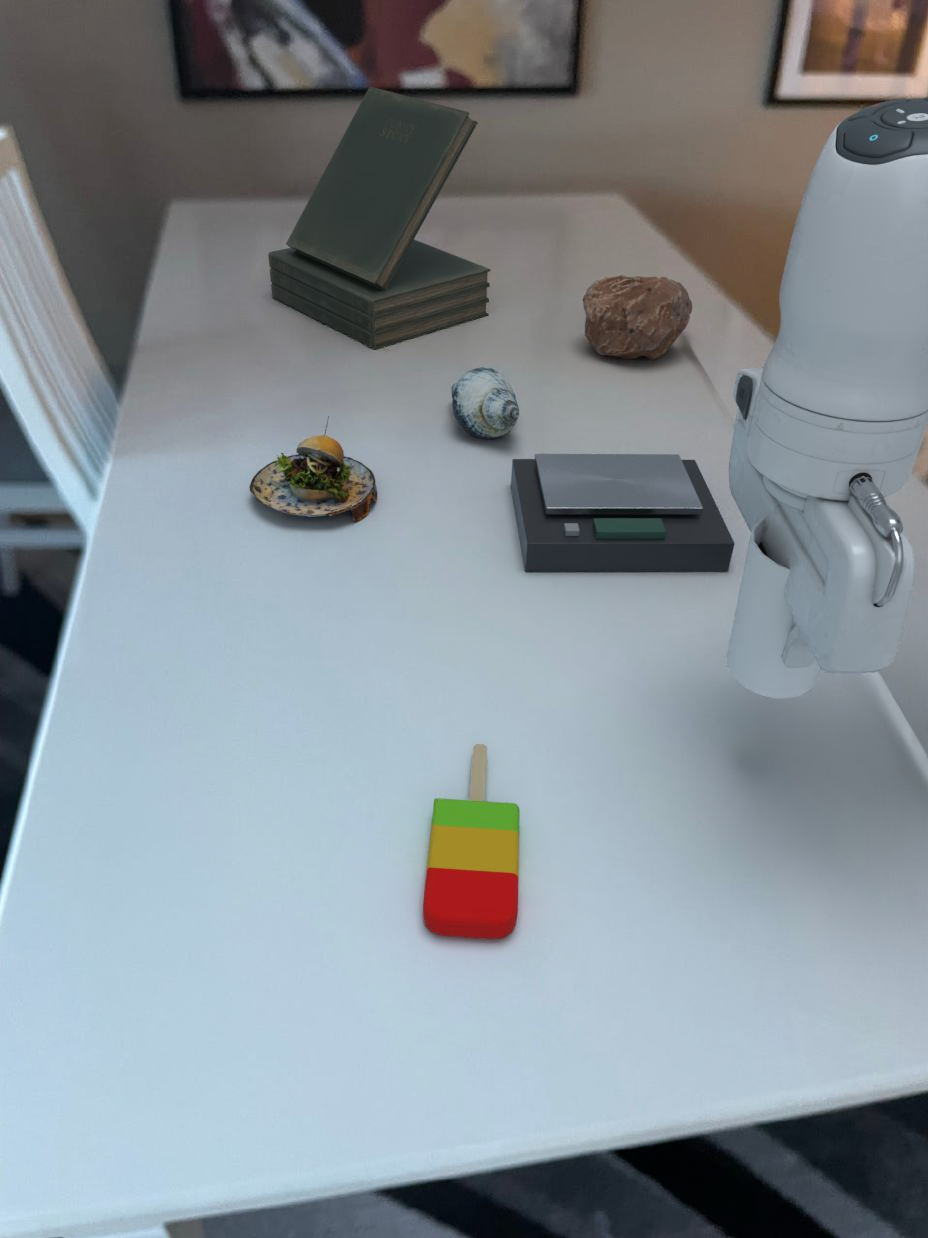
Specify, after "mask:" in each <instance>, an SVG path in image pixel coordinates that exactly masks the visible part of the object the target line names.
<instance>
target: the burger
mask: <svg viewBox="0 0 928 1238" xmlns="http://www.w3.org/2000/svg"><path fill="white" fill-rule="evenodd" d="M329 417H330V416H329V415H328V416H327V421H326V425H325V429H324V434H318V435H314V436H309V437H307V438H305V439H303V440H302V441H300V442H299V444H298V445H297V447H296V449H295V450H296V454H291V455H288V456H287V455H285V453H284V452H280V454H281V455H280V456H279V455H276V456H277V457H276V460H274V461H272V462H270V463H268V464H266V465H265V466H263V468H261V469H259V470H257V471H256V473H255V475H254V476H253V477H252V480H251V481H250V484H249V492H250V493H251V494H252V495H253V497H254V498H255V500H257V501H258V502H259V503H261V504H262V505H264V506H265V507H267V508H268V507H269V508H270V509H271V508H272V509H274V510H276V511H278V512H280V513H284V514H286V515H293V516H298V517H308V518H314V517H326V516H330V517H332V516H335V515H340V514H343V513H345V512H348V511H351V513H352V514H351V518H352V520H353V521H354V523H358V522H359V521H361V519H362V518H364V517H366V516H368V514H370V504H371V499H373V501H374V502H376V501H377V500H378V488H377V484H376V483H377V481H376V478H375V475H374V472H373V471H372V470H371V469H370V468H369V467H368V466H366V465H365V464H363V462H361V461H359V460H356V459H354V458H352V457H350V456H345V454H344V449H343V446H342V445H341V444H340V443H339V442H338V440H336V439H335V438H332V437H331V436H328V435H326V433H327V428H328V424H329Z"/></svg>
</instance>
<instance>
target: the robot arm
mask: <svg viewBox="0 0 928 1238" xmlns="http://www.w3.org/2000/svg"><path fill="white" fill-rule="evenodd" d="M797 213H798V214H797V215H796V220H795V223H794V227H793V231H792V235H791V238H790V243H789V246H788V251H787V255H786V259H785V264H784V269H783V273H782V276H781V283H780V288H779V294H778V296H779V297H778V302H779V311H780V312H779V316H780V321H779V330H778V334H777V337H776V340H775V342H774V344H773V346H772V348H771V350H770V352H769V353H768V356H767V358H766V359H765V362H764V364H763V366H761V367H759V366H758V367H742V368H740V369H739V370H738V372H737V374H736V378H735V383H734V388H733V400H734V402H735V404H736V406H737V411H736V414H735V418H734V425H733V431H732V437H731V445H730V452H729V460H728V485H729V492H730V494H731V496H732V498H733V501H734V502H735V504H736V506H737V508H738V510H739V512H740V514H741V516H742V518H743V520H744V522H745V524H746V526H747V528H748V529H749V531H750V533H751V530H752V528H753V526H754V525H755V524H756V523H757V522H758V521H759V519H761V518H763V517H764V518H765V521H764V525H763V530H762V534H761V538H760V543H761V542H762V544H763V546H764V549H765V551H766V553H767V555H768V557H769V558H770V559H771V560H773V561H774V562H775V563H777V564H778V565H781V566H783V567H786V568H789V569H790V573H789V576H788V579H787V582H786V584H785V587H784V599H785V601H786V602H787V604H788V606H789V608H790V610H791V612H792V614H793V617H792V621H793V622H794V624H795V627H794V628H793V629H792V631H791V632H790V633H789V635H788V636H787V641H786V644H785V647H784V650H783V653H782V656H781V657H782V660H783V662H784V664H785V666H787V667H789V668H797V667H808V666H810V665H811V664H812V663H813V662H814V659H815V660H816V662H817V664H818V665H819V667H820V668H821V671H823V672H825V673H828V674H869V673H877V672H880V671H883V670H885V669H886V668H889V667H890V666H891V665H892V663H893V662H894V660H895V658H896V655H897V652H898V649H899V646H900V642H901V638H902V635H903V631H904V628H905V625H906V621H907V616H908V612H909V608H910V603H911V599H912V595H913V591H914V590H913V589H914V586H915V585H914V584H915V577H916V558H915V552H914V549H913V547H912V544H911V542H910V540H909V538H908V537H907V535H906V534H905V532H904V525H903V522H902V519H901V517H900V516H899V514H898V512H896V511H895V510H894V509H893V508H891V507H890V506H889V505H888V503H887V501H886V499H885V498H886V497H890V496H892V495H894V494H896V493H898V492H899V491H901V490H902V489H903V488H904V487H905V486H907V484H908V483H909V481H910V479H911V477H912V473H913V470H914V467H915V464H916V461H917V458H918V455H919V452H920V450H921V446H922V443H923V440H924V436H925V434H926V431H927V427H928V96H927V97H921V98H920V97H919V98H897V99H891V100H886V101H881V102H879V103H875V104H872V105H869V106H867V107H864V108H862V109H860V110H859V111H856V112H854V113H853V114H851V115H848V116H847V117H845V118H844V119H843V120H841V121H840V122H839V123H838V124H837V125H836V126H835V128H834V129H833V130H832V132H831V133H830V134H829V137H828V139H827V140H826V142H825V144H824V146H823V148H822V150H821V151H820V154H819V156H818V157H817V160H816V163H815V165H814V167H813V170H812V172H811V175H810V177H809V179H808V182H807V185H806V188H805V191H804V194H803V197H802V199H801V202H800V206H799V209H798V212H797Z"/></svg>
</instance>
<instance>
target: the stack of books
mask: <svg viewBox="0 0 928 1238" xmlns="http://www.w3.org/2000/svg"><path fill="white" fill-rule="evenodd" d="M478 123H479V122H478V121H477V120H473V119H472V118H470V112H469V111H467V110H462V109H458V108H455V107H450V106H447V105H443V104H440V103H435V102H431V101H428V100H425V99H421V98H416V97H412V96H409V95H405V94H402V93H397V92H393V91H389V90H385V89H381V88H377V87H374V86H369V87H368V88H367V90H366V93H365V95H364V96H363V98H362V100H361V102H360V104H359V106H358V108H357V109H356V112H355V113H354V114H353V116H352V119H351V121H350V122H349V125H348V127H347V128H346V130H345V132H344V134H343V136H342V138H341V139H340V141H339V143H338V145H337V147H336V149H335V150H334V153H333V154H332V156H331V158H330V160H329V162H328V164H327V166H326V167H325V170H324V171H323V173H322V175H321V176H320V179H319V181H318V183H317V184H316V187H315V188H314V190H313V191H312V194H311V196H310V197H309V199H308V201H307V203H306V205H305V207H304V208H303V211H302V213H300V217H298V220H297V222H296V224H295V225H294V227H293V230H292V231H291V233H290V234H289V237H288V238H287V240H286V242H285V245H286V246H288V247H287V248H282V249H278V250H274V251H269V252H268V264H269V276H270V277H269V278H270V283H271V284H270V289H271V297H272V298H273V299H274V300H277V301H279V302H281V303H283V304H285V305H287V306H289V307H291V308H293V309H294V310H297V311H298V312H301V313H303V314H305V315H307V316H309V317H310V318H312V319H314V320H317V321H318V322H319V323H322V324H324V325H326V326H328V327H330V328H332V329H334V330H336V331H338V332H340V333H342V334H343V335H346V336H347V337H349V338H352V339H354V340H356V341H358V342H359V343H362V344H364V345H366V346H367V347H369V348H372V349H374V350H378V349H381V348H382V349H383V348H386V347H388V346H391V345H392V346H393V345H395V344H399V343H401V342H405V341H408V340H411V339H414V338H419V337H421V336H424V335H427V334H431V333H434V332H437V331H441V330H444V329H448V328H452V327H454V326H458V325H461V324H464V323H468V322H471V321H474V320H478V319H481V318H484V317H487V316H489V313H488V312H487V304H488V303H490V298H489V297H487V295H488V288H490V286H491V284H490V282H488V277H489V276H488V275H489V274H488V273H490V272H491V268H489V267H486V266H483V265H481V264H478V263H477V262H473V261H470V260H468V259H466V258H463V257H460V256H457V255H455V254H453V253H450V252H448V251H446V250H445V251H444V250H442V249H440V248H438V247H435V246H433V245H430V244H427V243H424V242H421V241H419V240H417V239H416V236H417V234H418V233H419V232H420V229H421V227H422V225H423V224H424V222H425V220H426V218H427V217H428V214H429V213H430V210H431V209H432V207H433V205H434V204H435V202H436V200H437V198H438V196H439V194H440V193H441V191H442V189H443V188H444V186H445V183H446V182H447V180H448V178H449V176H450V174H451V172H452V171H453V169H454V167H455V166H456V164H457V162H458V160H459V158H460V156H461V154H462V153H463V151H464V149H465V148H466V146H467V144H468V142H469V140H470V138H471V136H472V135H473V133H474V132H475V129H476V127H477V125H478Z"/></svg>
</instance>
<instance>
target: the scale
mask: <svg viewBox="0 0 928 1238" xmlns="http://www.w3.org/2000/svg"><path fill="white" fill-rule="evenodd" d="M534 459H535V458H513V459H512V461H511V477H510V488H511V495H512V501H513V506H514V507H513V508H514V513H515V514H514V515H515V519H516V527H517V531H518V538H519V543H520V550H521V556H522V562H523V568H524V572H525V573H554V572H555V573H565V572H566V573H568V572H569V573H587V572H588V573H591V572H592V573H593V572H596V573H597V572H601V573H602V572H606V573H607V572H608V573H614V572H617V573H618V572H619V573H620V572H621V573H622V572H623V573H625V572H626V573H627V572H628V573H629V572H631V573H633V572H636V573H637V572H638V573H639V572H644V573H646V572H647V573H648V572H650V573H653V572H658V573H659V572H665V573H666V572H729V570H730V565H731V561H732V556H733V553H734V548H735V544H736V543H735V541H734V539H733V537H732V534H731V533H730V531H729V528H728V527H727V524H726V522H725V520H724V518H723V516H722V513H721V512H720V509H719V507H718V505H717V503H716V501H715V499H714V497H713V495H712V493H711V490H710V489H709V487H708V485H707V482H706V480H705V478H704V476H703V474H702V472H701V470H700V468H699V465H698V463H697V461H696V460H695V459H681V460H682V462H683V465H684V467H685V469H686V471H687V473H688V476H689V478H690V480H691V482H692V485H693V487H694V489H695V491H696V493H697V496H698V498H699V500H700V502H701V504H702V507H703V512H702V514H701V515H690V514H546V512H545V507H544V503H543V498H542V493H541V489H540V484H539V479H538V474H537V470H536V465H535V460H534Z"/></svg>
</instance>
